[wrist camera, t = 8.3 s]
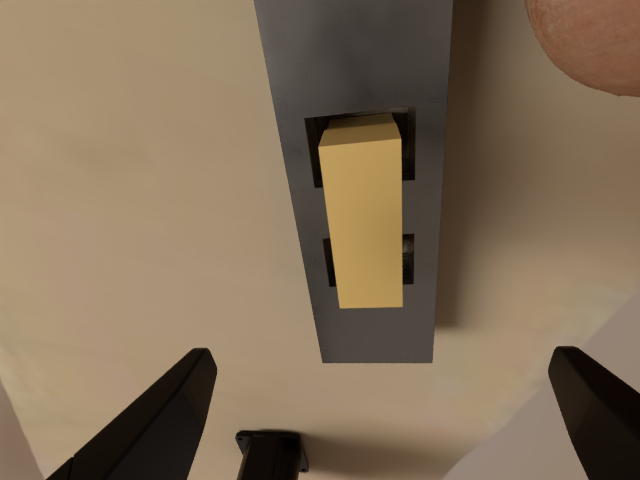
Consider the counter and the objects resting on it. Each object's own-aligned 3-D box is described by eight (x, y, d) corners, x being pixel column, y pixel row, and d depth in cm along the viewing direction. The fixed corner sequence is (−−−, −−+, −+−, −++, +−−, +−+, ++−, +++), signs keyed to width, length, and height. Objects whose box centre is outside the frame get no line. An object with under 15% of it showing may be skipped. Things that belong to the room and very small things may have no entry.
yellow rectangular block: (394, 247, 21) (402, 306, 16) (344, 249, 21) (339, 308, 17) (391, 108, 17) (401, 138, 12) (329, 115, 17) (318, 147, 13)
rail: (425, 327, 24) (432, 363, 22) (326, 329, 25) (322, 362, 23) (440, -94, 13) (460, -123, 10) (261, -58, 14) (239, -77, 11)
